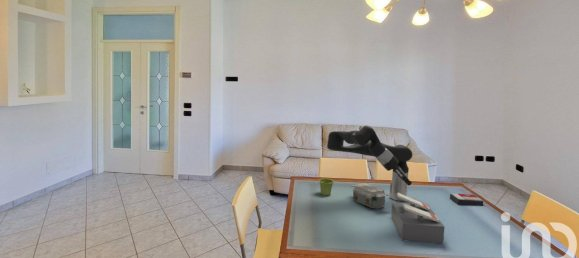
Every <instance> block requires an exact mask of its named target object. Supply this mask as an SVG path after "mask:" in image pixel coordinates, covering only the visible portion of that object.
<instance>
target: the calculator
mask: <svg viewBox="0 0 579 258" xmlns="http://www.w3.org/2000/svg"><path fill="white" fill-rule="evenodd" d="M449 200H450V201H452V202H453V203H454V204H456V205H458V206H481V207H482V206H484V200H482V199H481V198H479V197H478V196H476V195H474V194H467V193H453V192H452V193H450V195H449Z"/></svg>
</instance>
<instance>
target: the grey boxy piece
mask: <svg viewBox="0 0 579 258" xmlns="http://www.w3.org/2000/svg"><path fill="white" fill-rule="evenodd" d="M349 187H350V188H353V189H352V192H353V193H352V200H353V201H355V202H357V203H359V204H361V205H364V206H367V207H369V208H371V209H382V208H383V206H385V204H386V197H389V196H390V193H389V194H388V193H386V192H385V189H383V188H380V187H377V186H373V185H371V184H368V183H359V184H353V185H352V184H350V185H349Z"/></svg>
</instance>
